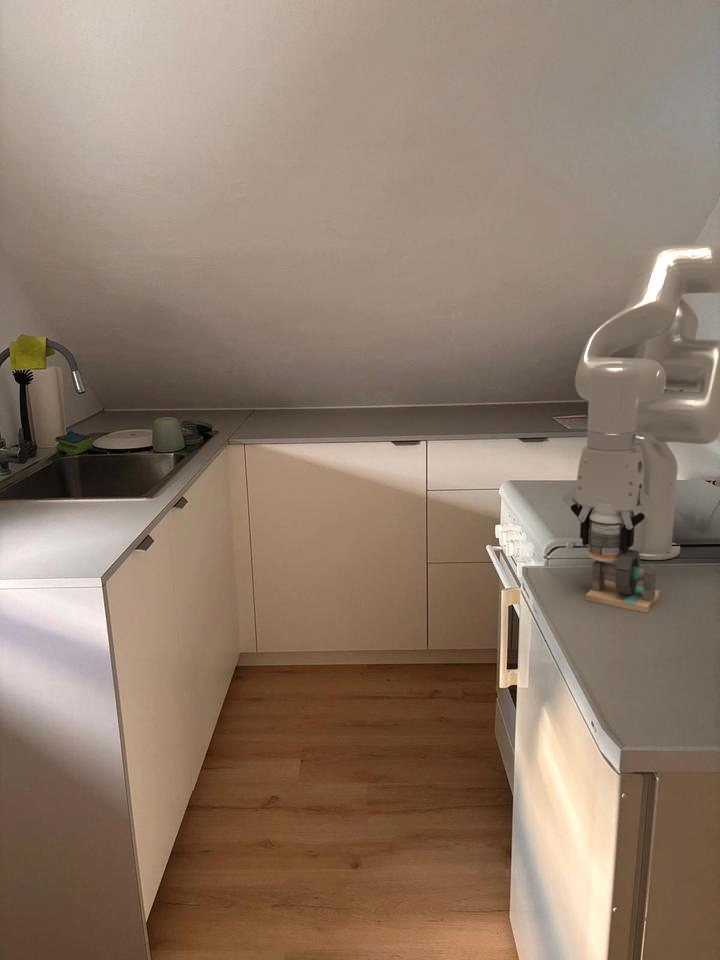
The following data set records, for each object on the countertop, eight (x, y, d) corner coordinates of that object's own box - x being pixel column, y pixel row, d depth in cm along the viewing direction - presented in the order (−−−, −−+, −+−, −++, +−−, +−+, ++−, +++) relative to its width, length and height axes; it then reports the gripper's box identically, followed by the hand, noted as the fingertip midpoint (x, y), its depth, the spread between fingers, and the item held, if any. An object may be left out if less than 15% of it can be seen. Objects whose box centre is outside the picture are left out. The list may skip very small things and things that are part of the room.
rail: (600, 584, 135) (601, 553, 134) (659, 595, 130) (661, 562, 128) (585, 600, 129) (586, 567, 127) (647, 612, 123) (649, 578, 122)
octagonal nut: (626, 583, 132) (628, 544, 130) (638, 585, 131) (640, 546, 129) (614, 597, 126) (616, 557, 125) (626, 599, 125) (629, 559, 124)
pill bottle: (596, 549, 133) (598, 493, 131) (628, 555, 130) (632, 499, 127) (582, 558, 129) (584, 501, 127) (615, 565, 126) (618, 507, 123)
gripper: (672, 441, 123) (665, 548, 127) (567, 432, 132) (564, 532, 137) (660, 450, 117) (653, 562, 121) (551, 440, 126) (548, 544, 131)
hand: (606, 545), depth 129 cm, fingers closed on pill bottle, 5 cm apart
